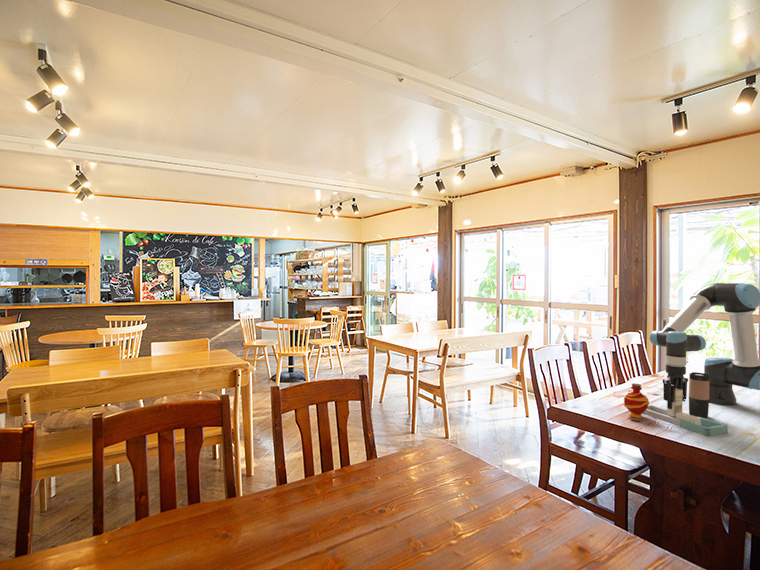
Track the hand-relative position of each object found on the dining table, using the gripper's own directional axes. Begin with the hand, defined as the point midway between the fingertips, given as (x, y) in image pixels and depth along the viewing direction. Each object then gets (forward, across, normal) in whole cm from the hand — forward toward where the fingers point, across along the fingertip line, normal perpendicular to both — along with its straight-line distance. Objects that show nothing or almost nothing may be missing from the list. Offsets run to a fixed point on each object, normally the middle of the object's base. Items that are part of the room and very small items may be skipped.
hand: (674, 414), depth 186 cm
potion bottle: (+3, +12, -9) cm, 16 cm away
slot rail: (+2, 0, -4) cm, 4 cm away
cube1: (+2, 0, +4) cm, 5 cm away
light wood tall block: (+2, 0, 0) cm, 2 cm away
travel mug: (+2, -17, -1) cm, 17 cm away
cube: (+2, 0, +8) cm, 8 cm away
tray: (+2, 0, +12) cm, 13 cm away
